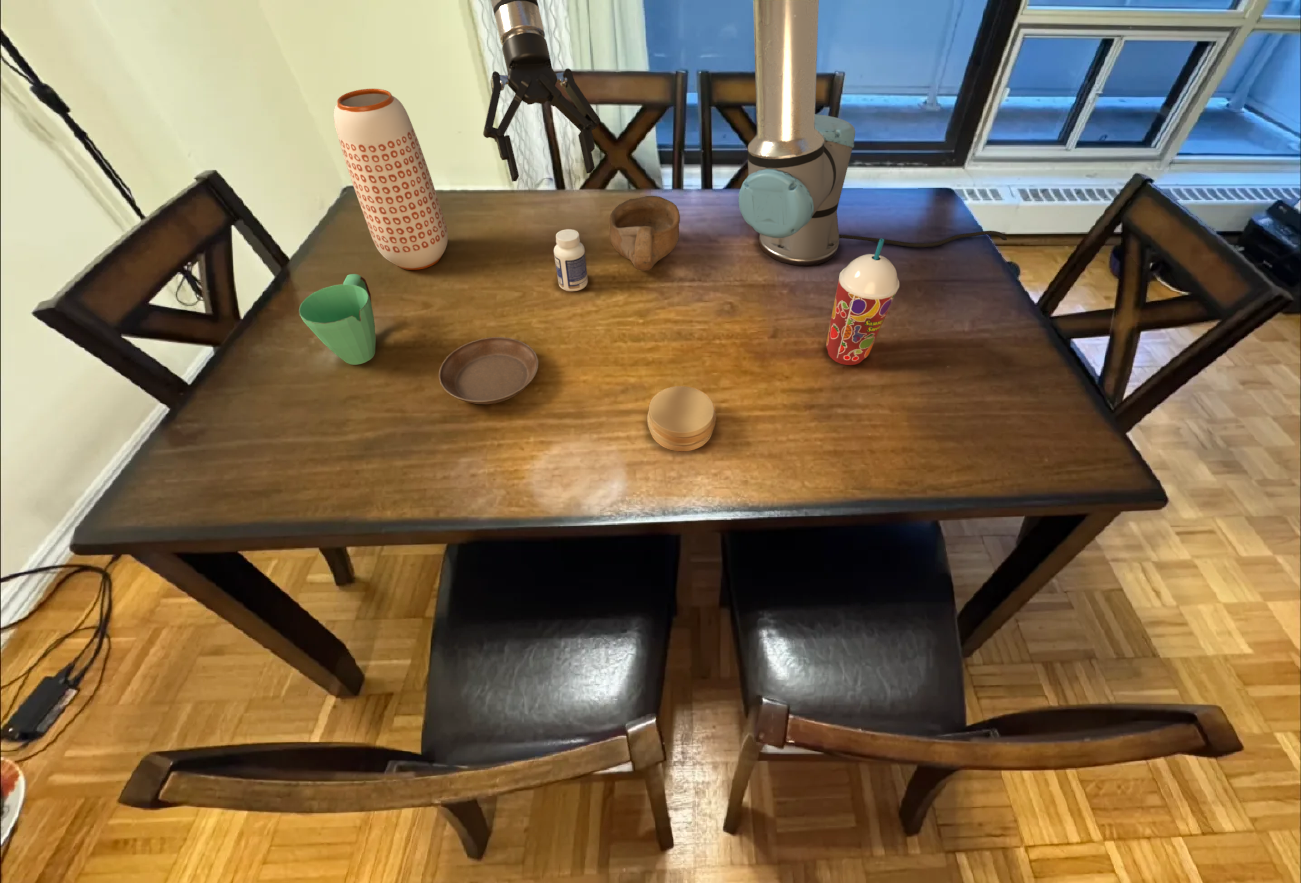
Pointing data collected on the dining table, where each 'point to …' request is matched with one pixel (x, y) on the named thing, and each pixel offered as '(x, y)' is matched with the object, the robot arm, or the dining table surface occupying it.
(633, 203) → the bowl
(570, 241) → the pill bottle
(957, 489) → the dining table surface
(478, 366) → the saucer
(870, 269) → the smoothie
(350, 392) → the dining table surface
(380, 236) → the patterned vase
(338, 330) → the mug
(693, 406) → the coaster stack
